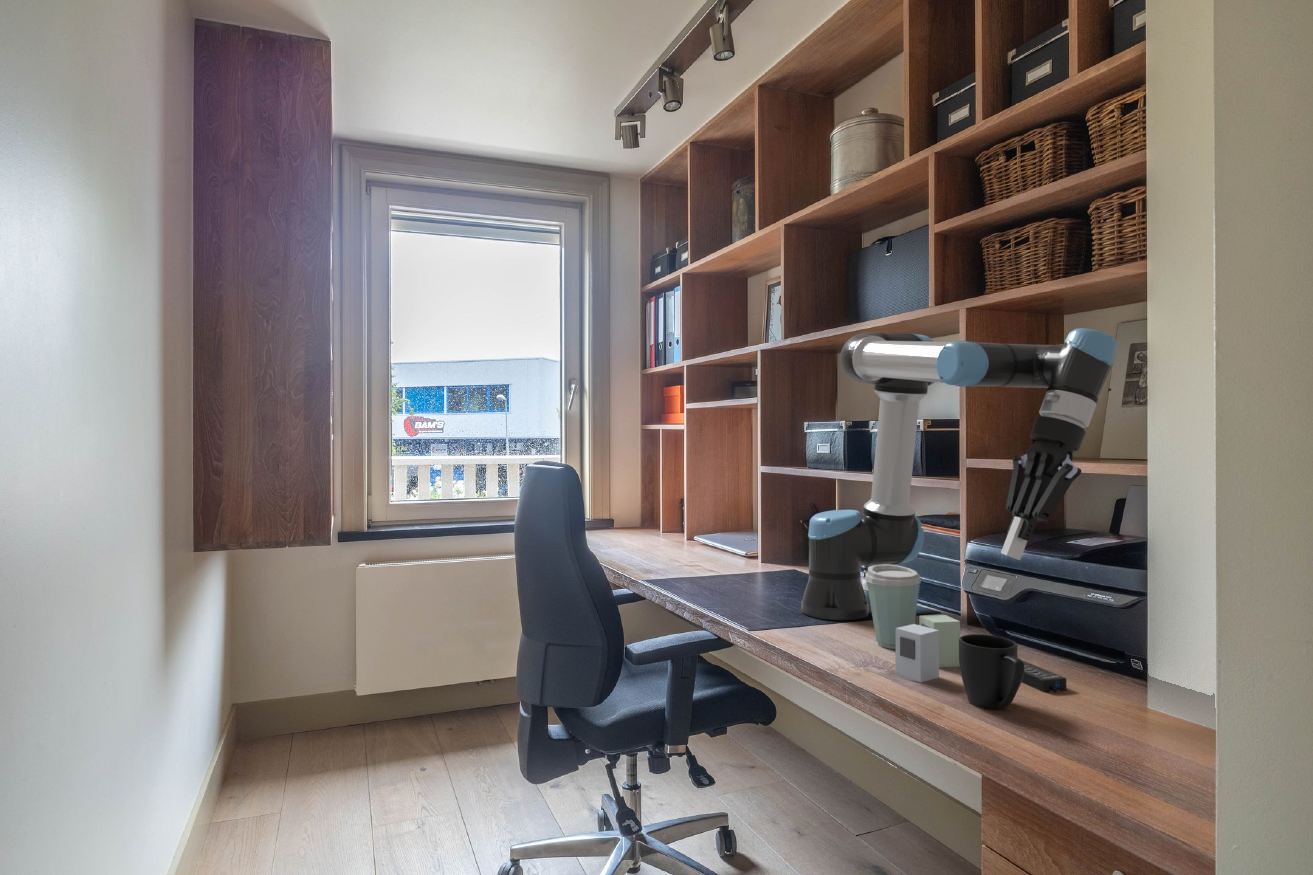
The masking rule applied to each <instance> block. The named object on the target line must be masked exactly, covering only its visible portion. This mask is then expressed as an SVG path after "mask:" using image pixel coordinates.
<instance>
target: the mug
mask: <svg viewBox="0 0 1313 875" xmlns="http://www.w3.org/2000/svg"><path fill="white" fill-rule="evenodd" d="M1022 660H1023V659H1021V658H1020V657H1018V643H1017V642H1016V641H1013V640H1011V639H1010V638H1006V637H1002V636H999V635H998V636H997V635H992V634H984V633H983V634H982V633H976V634H975V633H973V634H964V635H962V636H961V635H960V638H959V665H960V666H959V671H960V676H961V680H962V683H963V688H964V691H965V694H966V696H967V697H966V698H967V701H968V703H969V704H971V705H972V706H974V707H977V708H981V709H986V710H995V711H996V710H999V711H1000V710H1004V709H1007V708H1008V707H1010V705H1011V704H1012V703H1013V701H1014V699H1015V697H1016V695H1017V693H1018V690H1019V689H1020V687H1021V685H1022V680H1023V677H1024V663H1023V661H1024V660H1023V661H1022Z"/></svg>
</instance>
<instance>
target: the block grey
mask: <svg viewBox="0 0 1313 875" xmlns="http://www.w3.org/2000/svg"><path fill="white" fill-rule="evenodd" d="M895 675H896V676H898V677H901V678H904V679H908V680H910V681H913V682H917V683H921V684H922V683H924V682H928V681H931V680H935V679H938V678H940V667H939V630H936V629H932V628H928V627H924V626H920V625H919V624H916V623H915V624H912V625H907V626H903V627H899V628H896V649H895Z"/></svg>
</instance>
